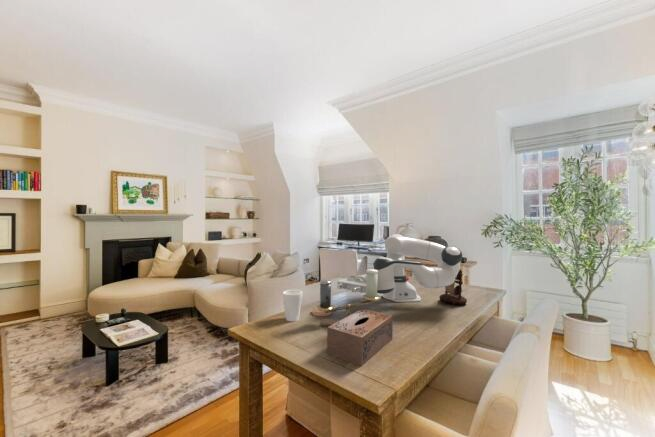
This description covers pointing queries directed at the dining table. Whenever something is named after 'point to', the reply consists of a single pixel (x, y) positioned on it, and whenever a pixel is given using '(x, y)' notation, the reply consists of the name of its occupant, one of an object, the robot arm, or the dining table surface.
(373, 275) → the light tin
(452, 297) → the brown wooden figurine
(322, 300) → the tin
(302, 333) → the dining table surface
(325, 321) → the balance
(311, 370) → the dining table surface
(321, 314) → the dish
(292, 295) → the foam cup
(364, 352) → the tissue box cover
